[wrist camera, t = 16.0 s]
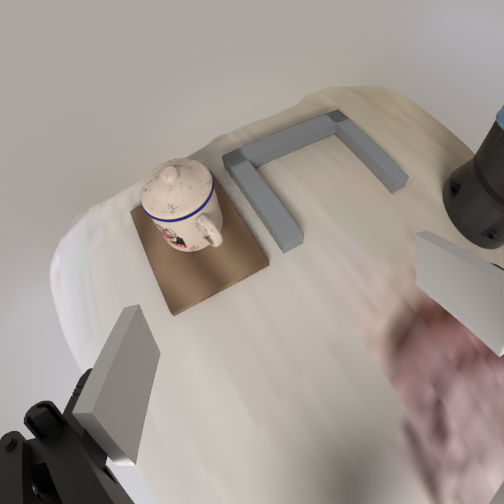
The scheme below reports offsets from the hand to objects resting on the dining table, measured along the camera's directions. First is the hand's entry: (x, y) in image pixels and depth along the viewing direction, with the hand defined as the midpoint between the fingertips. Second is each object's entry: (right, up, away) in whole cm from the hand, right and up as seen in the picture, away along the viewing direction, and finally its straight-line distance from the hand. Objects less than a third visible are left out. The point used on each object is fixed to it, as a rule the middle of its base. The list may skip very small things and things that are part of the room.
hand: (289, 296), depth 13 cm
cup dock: (+8, +14, +33) cm, 37 cm away
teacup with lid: (-9, +5, +29) cm, 31 cm away
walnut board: (-10, +4, +30) cm, 32 cm away
